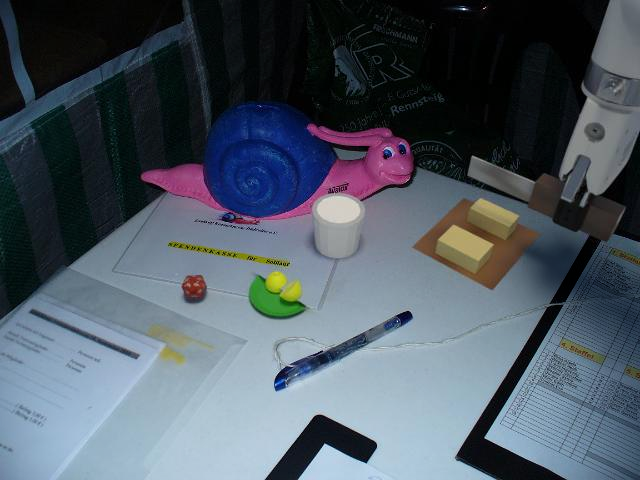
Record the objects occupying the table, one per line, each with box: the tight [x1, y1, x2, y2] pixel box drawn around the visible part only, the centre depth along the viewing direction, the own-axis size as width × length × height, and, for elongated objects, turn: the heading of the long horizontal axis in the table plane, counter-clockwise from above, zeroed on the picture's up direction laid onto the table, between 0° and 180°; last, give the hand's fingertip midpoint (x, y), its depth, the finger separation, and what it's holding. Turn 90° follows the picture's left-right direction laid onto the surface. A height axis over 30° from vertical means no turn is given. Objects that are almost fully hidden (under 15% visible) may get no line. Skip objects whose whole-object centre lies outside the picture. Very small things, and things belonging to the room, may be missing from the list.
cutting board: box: [411, 197, 541, 291], centre depth 81 cm, size 12×14×1 cm
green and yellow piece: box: [248, 270, 308, 317], centre depth 73 cm, size 8×8×3 cm
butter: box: [435, 225, 494, 274], centre depth 78 cm, size 6×4×2 cm, turn 50°
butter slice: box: [467, 197, 520, 240], centre depth 82 cm, size 6×3×2 cm, turn 50°
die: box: [180, 274, 208, 300], centre depth 73 cm, size 3×3×3 cm
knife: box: [467, 155, 627, 243], centre depth 73 cm, size 19×2×4 cm, turn 50°
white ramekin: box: [311, 192, 366, 260], centre depth 78 cm, size 7×7×7 cm
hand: (570, 218), depth 72 cm, fingers closed on knife, 2 cm apart
